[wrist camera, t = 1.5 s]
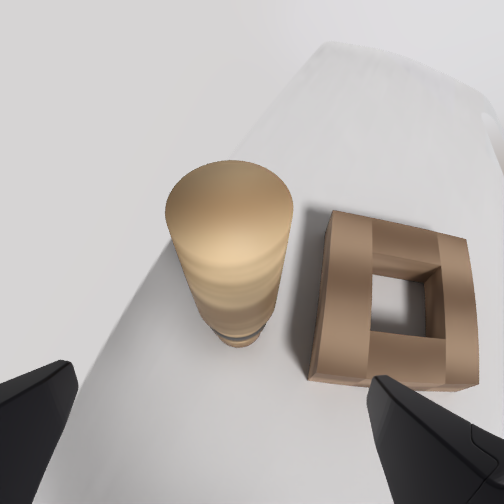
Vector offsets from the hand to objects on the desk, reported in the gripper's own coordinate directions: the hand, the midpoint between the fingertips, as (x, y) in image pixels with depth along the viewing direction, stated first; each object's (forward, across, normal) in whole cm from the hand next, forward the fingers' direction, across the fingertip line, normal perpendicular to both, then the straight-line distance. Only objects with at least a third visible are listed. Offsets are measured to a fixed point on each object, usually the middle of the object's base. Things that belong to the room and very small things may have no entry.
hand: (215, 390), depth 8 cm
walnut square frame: (+14, -12, +4) cm, 18 cm away
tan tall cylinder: (+13, 0, +5) cm, 14 cm away
